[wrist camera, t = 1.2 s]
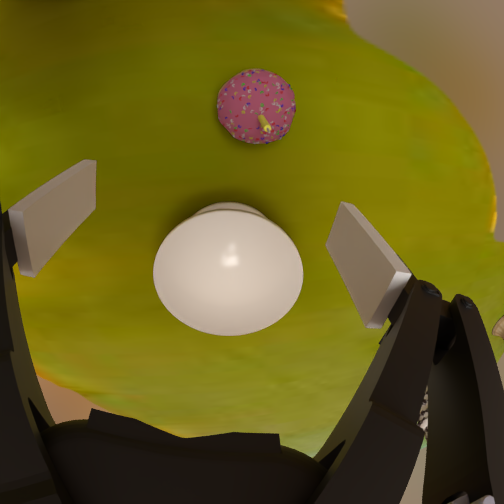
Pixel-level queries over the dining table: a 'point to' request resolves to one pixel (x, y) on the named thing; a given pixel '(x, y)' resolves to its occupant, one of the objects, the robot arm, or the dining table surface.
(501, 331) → the hand bell
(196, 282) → the cake stand
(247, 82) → the cupcake
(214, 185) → the dining table surface
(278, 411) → the dining table surface
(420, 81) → the dining table surface
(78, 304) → the dining table surface
